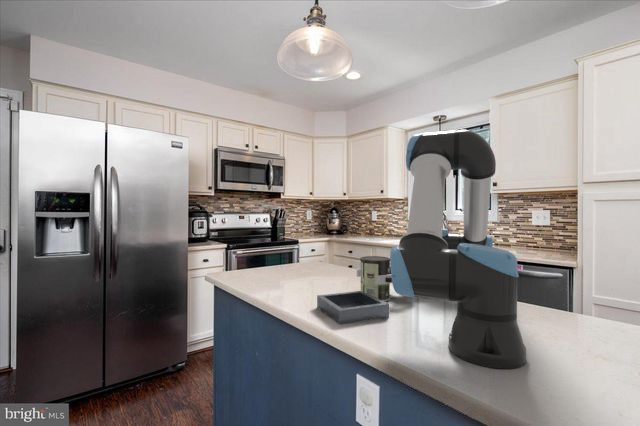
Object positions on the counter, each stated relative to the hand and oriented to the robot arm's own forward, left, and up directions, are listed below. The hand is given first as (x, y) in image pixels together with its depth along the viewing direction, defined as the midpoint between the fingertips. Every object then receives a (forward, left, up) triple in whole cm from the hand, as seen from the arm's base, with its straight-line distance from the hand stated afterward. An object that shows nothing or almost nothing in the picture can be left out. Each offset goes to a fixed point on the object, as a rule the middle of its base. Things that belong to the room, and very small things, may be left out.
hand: (365, 276), depth 111 cm
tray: (-10, +11, -8) cm, 17 cm away
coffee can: (0, -4, -8) cm, 9 cm away
